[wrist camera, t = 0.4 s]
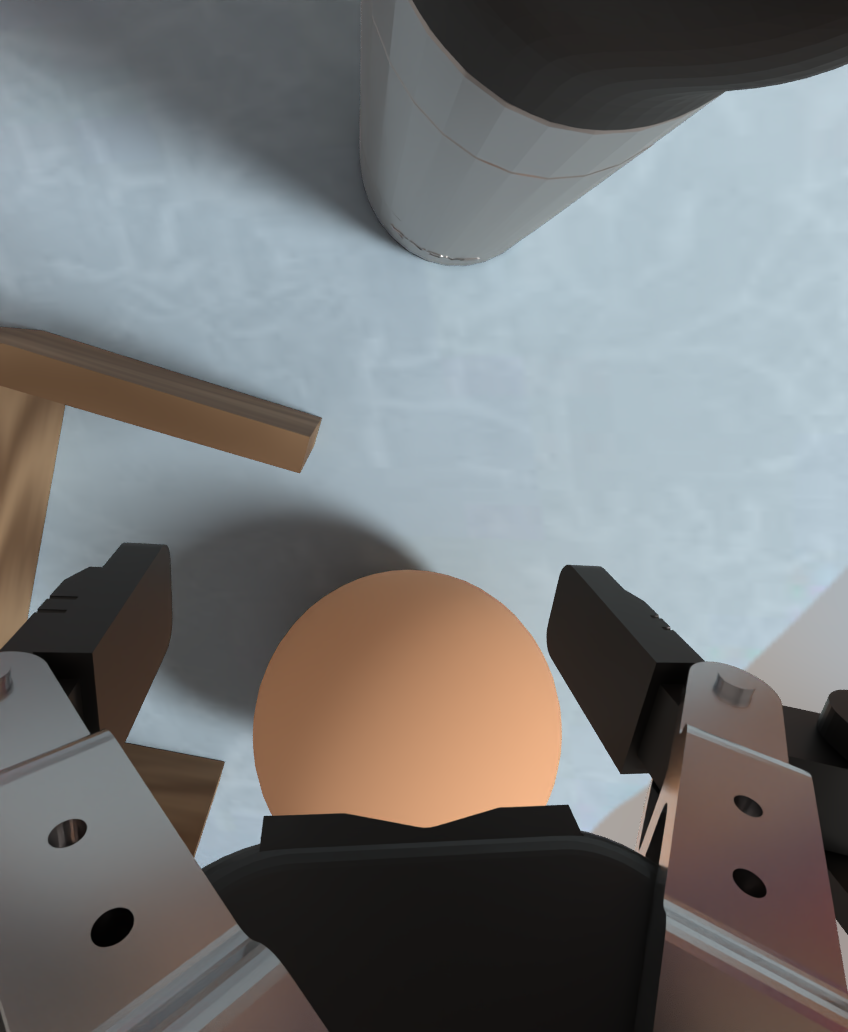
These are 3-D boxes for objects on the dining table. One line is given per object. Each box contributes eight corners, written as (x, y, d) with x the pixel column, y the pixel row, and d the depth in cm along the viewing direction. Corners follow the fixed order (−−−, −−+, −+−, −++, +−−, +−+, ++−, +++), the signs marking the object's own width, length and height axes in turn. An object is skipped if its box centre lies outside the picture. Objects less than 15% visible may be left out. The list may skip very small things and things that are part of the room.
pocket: (43, 330, 27) (-73, 320, 20) (321, 417, 29) (309, 437, 22) (-24, 737, 32) (-136, 848, 25) (219, 782, 34) (182, 894, 27)
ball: (313, 502, 30) (278, 616, 17) (548, 569, 33) (679, 714, 20) (250, 722, 33) (177, 965, 20) (469, 767, 36) (535, 1009, 23)
